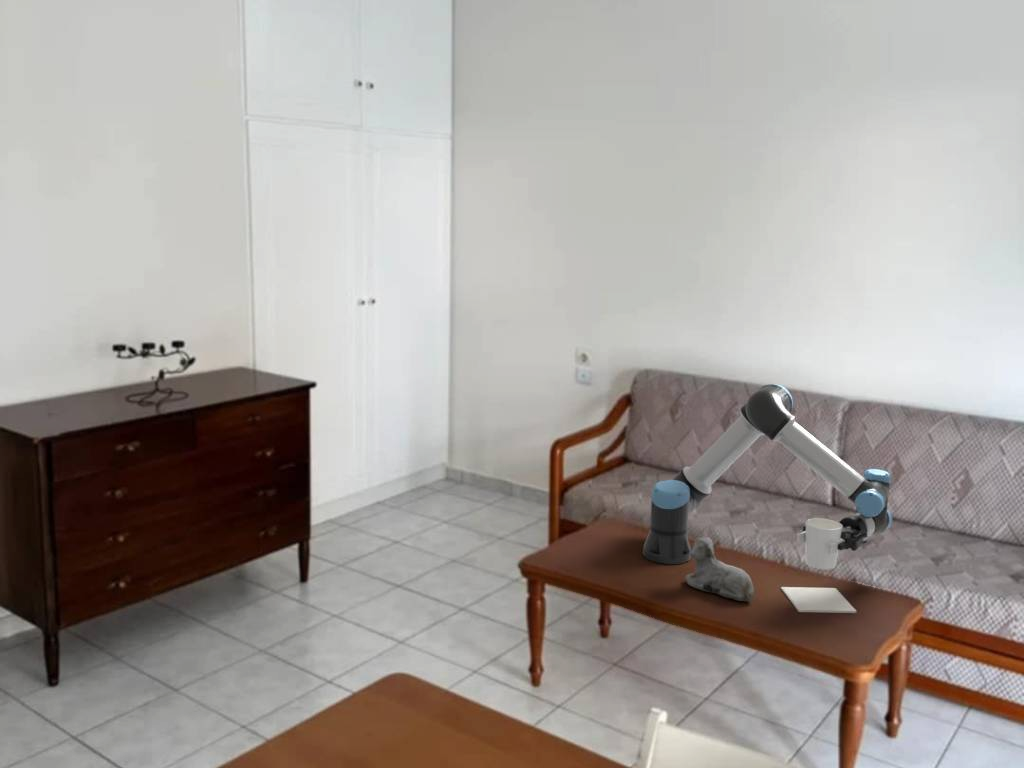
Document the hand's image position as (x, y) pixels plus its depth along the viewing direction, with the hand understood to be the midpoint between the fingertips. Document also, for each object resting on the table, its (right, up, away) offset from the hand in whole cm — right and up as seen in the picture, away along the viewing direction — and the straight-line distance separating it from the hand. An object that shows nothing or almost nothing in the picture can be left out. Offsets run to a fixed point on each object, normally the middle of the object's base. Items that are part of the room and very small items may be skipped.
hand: (813, 543), depth 260 cm
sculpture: (-24, -16, +11) cm, 31 cm away
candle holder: (+3, -7, +4) cm, 8 cm away
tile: (+3, -17, +7) cm, 19 cm away
